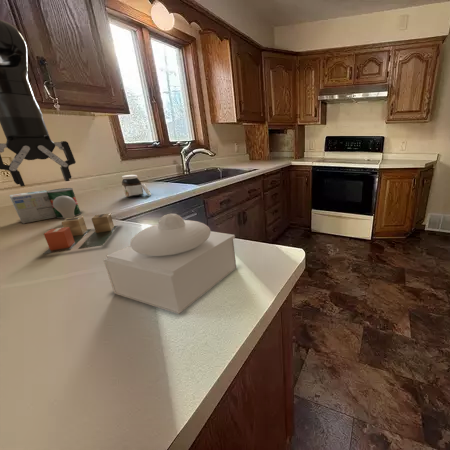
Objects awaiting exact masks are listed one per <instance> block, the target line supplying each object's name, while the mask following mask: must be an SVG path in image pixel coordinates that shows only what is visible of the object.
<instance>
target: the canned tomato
mask: <svg viewBox="0 0 450 450" xmlns="http://www.w3.org/2000/svg"><path fill="white" fill-rule="evenodd" d="M46 191H47V194H48V196H49V199H50V202H51V204H52V207H53V210H54V212H55V215H56V217H55V218H56V219H64V218H63V216H62V214H61V213H60V212H59V211H57V210H56V209H55V208H54V206H53V201H54V199H55V198H57V197H59V196H69V197H71V198H72V199H74V201H75V203H76V206H75V209H74V215H75V217H78V216H81V214H82V212H81V209H80V207H79V203H78V201H77V198H76V194H75V192H74V189H73V187H62V188H54V189H49V190H46Z"/></svg>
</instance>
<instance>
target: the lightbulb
mask: <svg viewBox="0 0 450 450" xmlns="http://www.w3.org/2000/svg"><path fill="white" fill-rule="evenodd" d="M53 206H54V208H55V209H56V210H57V211H59V212H60V213H61V214H62V216H63V218H62V219H64V220H65V219H67V218H74V217H76V216H75V215H74V209H75V206H76V203H75V201H74V199H72V198H71V197H69V196H59V197H57V198H55V199H54V201H53Z"/></svg>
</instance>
